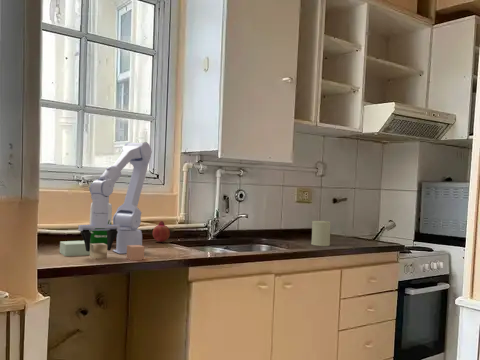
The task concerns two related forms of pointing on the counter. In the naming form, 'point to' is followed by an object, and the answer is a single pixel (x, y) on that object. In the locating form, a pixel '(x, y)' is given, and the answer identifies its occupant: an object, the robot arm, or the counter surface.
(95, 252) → the maple cube
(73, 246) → the sage block
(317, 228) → the can
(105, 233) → the milk carton
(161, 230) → the fruit
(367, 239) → the counter surface
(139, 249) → the terracotta cube
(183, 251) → the counter surface
